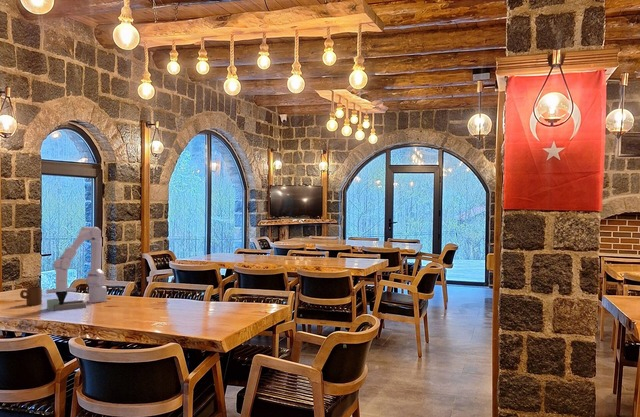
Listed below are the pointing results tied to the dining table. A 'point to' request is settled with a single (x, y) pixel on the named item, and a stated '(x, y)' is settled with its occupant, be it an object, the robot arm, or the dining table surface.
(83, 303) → the chute
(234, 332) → the dining table surface
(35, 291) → the mug
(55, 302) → the block
